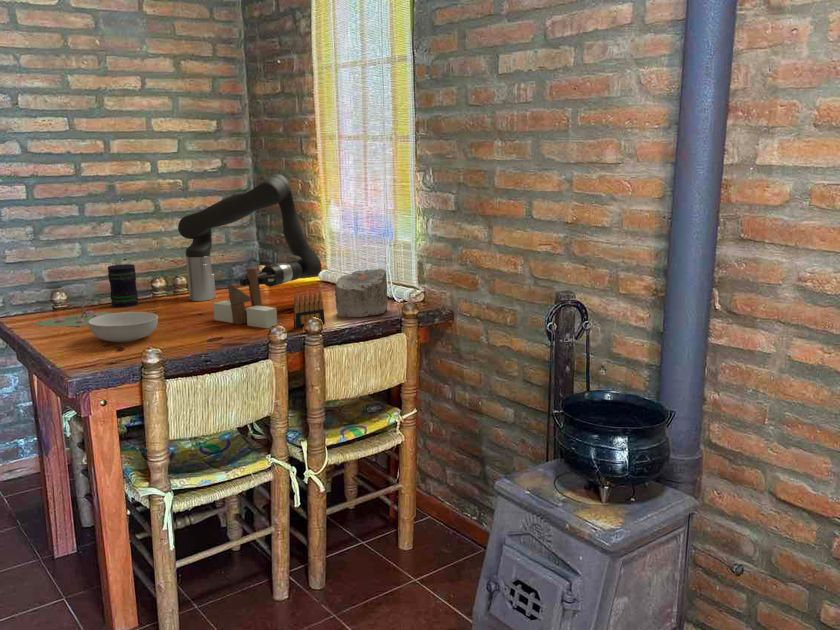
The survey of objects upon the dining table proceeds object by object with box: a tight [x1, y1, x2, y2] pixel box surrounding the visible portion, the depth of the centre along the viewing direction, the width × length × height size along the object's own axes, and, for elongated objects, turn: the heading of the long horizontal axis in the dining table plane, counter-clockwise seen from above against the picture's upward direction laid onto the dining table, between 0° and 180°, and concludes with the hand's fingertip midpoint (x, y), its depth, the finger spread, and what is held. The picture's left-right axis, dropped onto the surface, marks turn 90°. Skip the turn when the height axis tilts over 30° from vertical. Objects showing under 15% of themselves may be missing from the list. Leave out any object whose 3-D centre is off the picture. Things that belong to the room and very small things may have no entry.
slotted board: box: [212, 300, 278, 329], centre depth 273 cm, size 5×25×6 cm, turn 57°
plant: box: [34, 295, 112, 327], centre depth 280 cm, size 25×21×9 cm
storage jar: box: [107, 258, 139, 309], centre depth 303 cm, size 10×10×18 cm
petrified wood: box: [334, 268, 389, 318], centre depth 284 cm, size 19×17×15 cm
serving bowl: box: [88, 311, 159, 343], centre depth 254 cm, size 21×21×7 cm
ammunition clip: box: [293, 288, 326, 329], centre depth 267 cm, size 11×2×12 cm, turn 123°
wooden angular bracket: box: [227, 266, 263, 326], centre depth 272 cm, size 4×11×18 cm, turn 129°
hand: (241, 282), depth 270 cm, fingers closed
